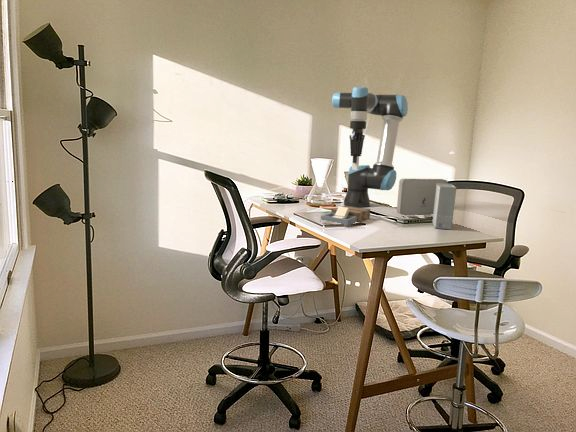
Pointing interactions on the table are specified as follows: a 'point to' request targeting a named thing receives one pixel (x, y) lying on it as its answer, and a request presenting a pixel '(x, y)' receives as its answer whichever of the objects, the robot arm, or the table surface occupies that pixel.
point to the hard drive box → (444, 206)
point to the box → (339, 219)
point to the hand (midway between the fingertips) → (355, 169)
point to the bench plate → (356, 213)
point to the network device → (417, 196)
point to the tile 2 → (342, 212)
